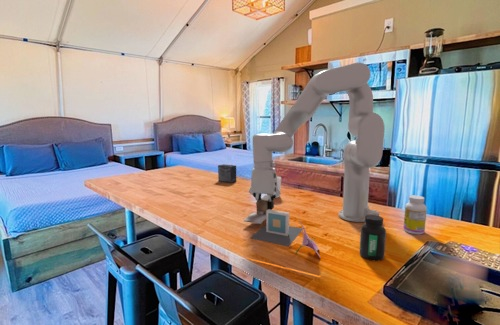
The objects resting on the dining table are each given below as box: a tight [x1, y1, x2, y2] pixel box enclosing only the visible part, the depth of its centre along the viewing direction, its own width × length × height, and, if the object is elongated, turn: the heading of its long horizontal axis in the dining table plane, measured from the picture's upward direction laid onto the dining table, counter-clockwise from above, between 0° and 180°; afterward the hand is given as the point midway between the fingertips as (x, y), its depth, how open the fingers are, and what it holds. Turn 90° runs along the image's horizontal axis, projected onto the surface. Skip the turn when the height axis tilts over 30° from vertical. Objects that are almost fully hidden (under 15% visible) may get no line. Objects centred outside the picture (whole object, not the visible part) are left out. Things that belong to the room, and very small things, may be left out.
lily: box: [294, 220, 321, 258], centre depth 85 cm, size 12×12×10 cm
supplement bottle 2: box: [403, 194, 428, 236], centre depth 101 cm, size 7×7×13 cm
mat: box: [249, 224, 304, 247], centre depth 100 cm, size 14×16×1 cm
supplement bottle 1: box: [359, 215, 387, 262], centre depth 84 cm, size 7×7×12 cm
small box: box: [217, 163, 237, 184], centre depth 182 cm, size 11×6×10 cm, turn 58°
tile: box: [265, 209, 290, 236], centre depth 100 cm, size 8×2×8 cm, turn 63°
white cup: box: [266, 175, 282, 199], centre depth 147 cm, size 8×8×10 cm
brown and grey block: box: [243, 194, 275, 225], centre depth 111 cm, size 7×17×5 cm, turn 152°
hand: (265, 209), depth 114 cm, fingers closed on brown and grey block, 3 cm apart
